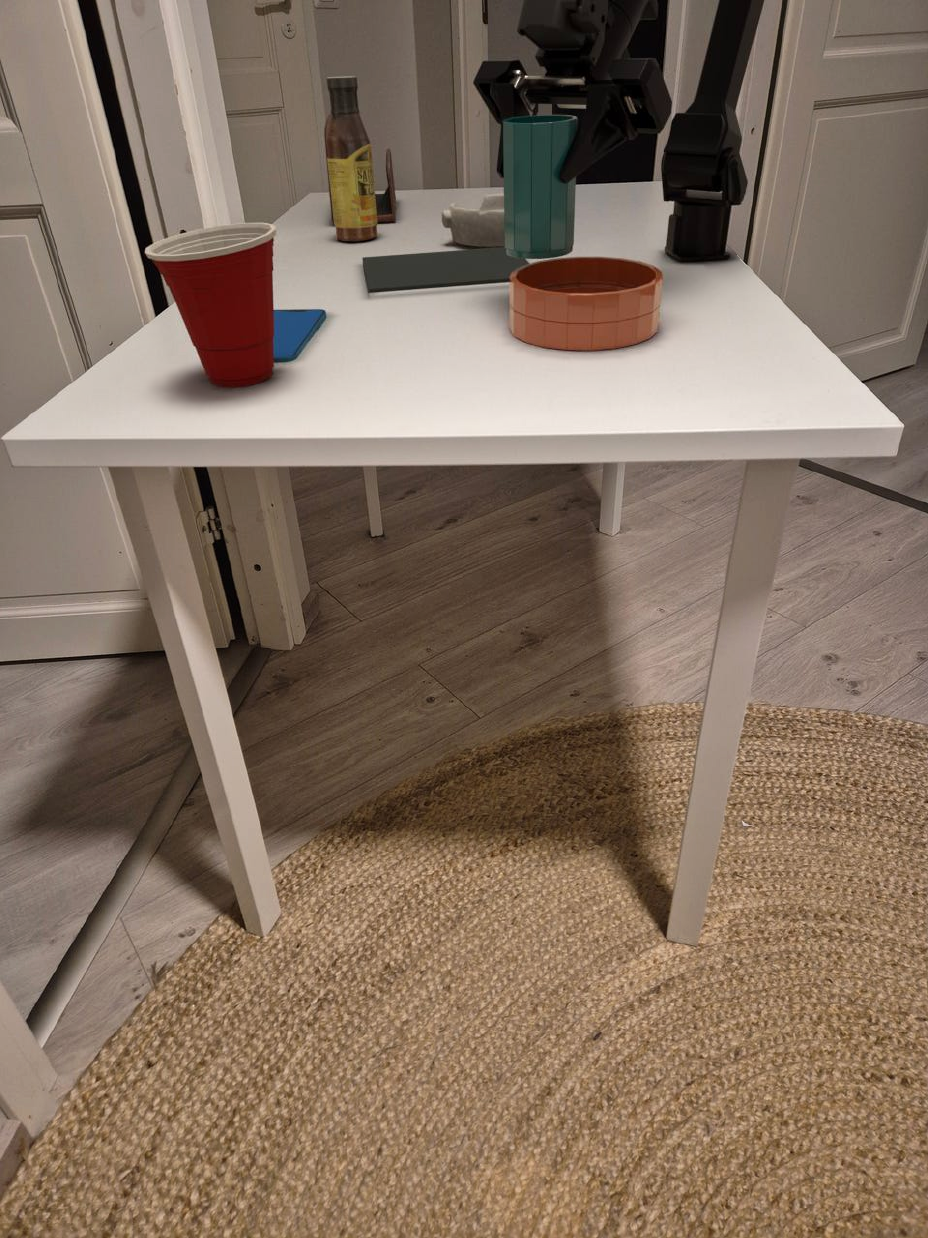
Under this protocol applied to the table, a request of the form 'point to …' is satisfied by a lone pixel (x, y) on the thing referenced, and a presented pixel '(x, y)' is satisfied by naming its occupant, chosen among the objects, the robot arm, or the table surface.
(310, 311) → the smartphone
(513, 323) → the bowl
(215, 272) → the plastic cup
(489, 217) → the dish
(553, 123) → the tumbler
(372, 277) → the mat
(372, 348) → the table surface
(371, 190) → the sauce bottle
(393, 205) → the letter holder
